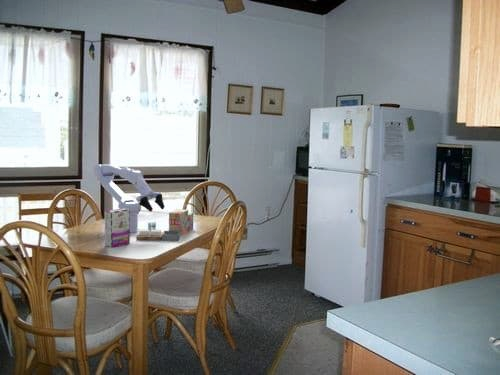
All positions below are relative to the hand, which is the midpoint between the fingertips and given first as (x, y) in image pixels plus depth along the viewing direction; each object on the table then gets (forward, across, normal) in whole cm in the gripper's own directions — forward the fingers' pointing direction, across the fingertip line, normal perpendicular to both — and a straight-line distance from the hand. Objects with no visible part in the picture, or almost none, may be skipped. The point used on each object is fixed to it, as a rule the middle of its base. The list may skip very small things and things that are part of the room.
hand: (157, 209), depth 238 cm
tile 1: (+7, -7, +10) cm, 14 cm away
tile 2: (+10, -4, +7) cm, 13 cm away
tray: (+15, +1, +5) cm, 16 cm away
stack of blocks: (+10, +16, +12) cm, 22 cm away
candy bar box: (+10, -26, +8) cm, 29 cm away
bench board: (+10, -6, +10) cm, 15 cm away
